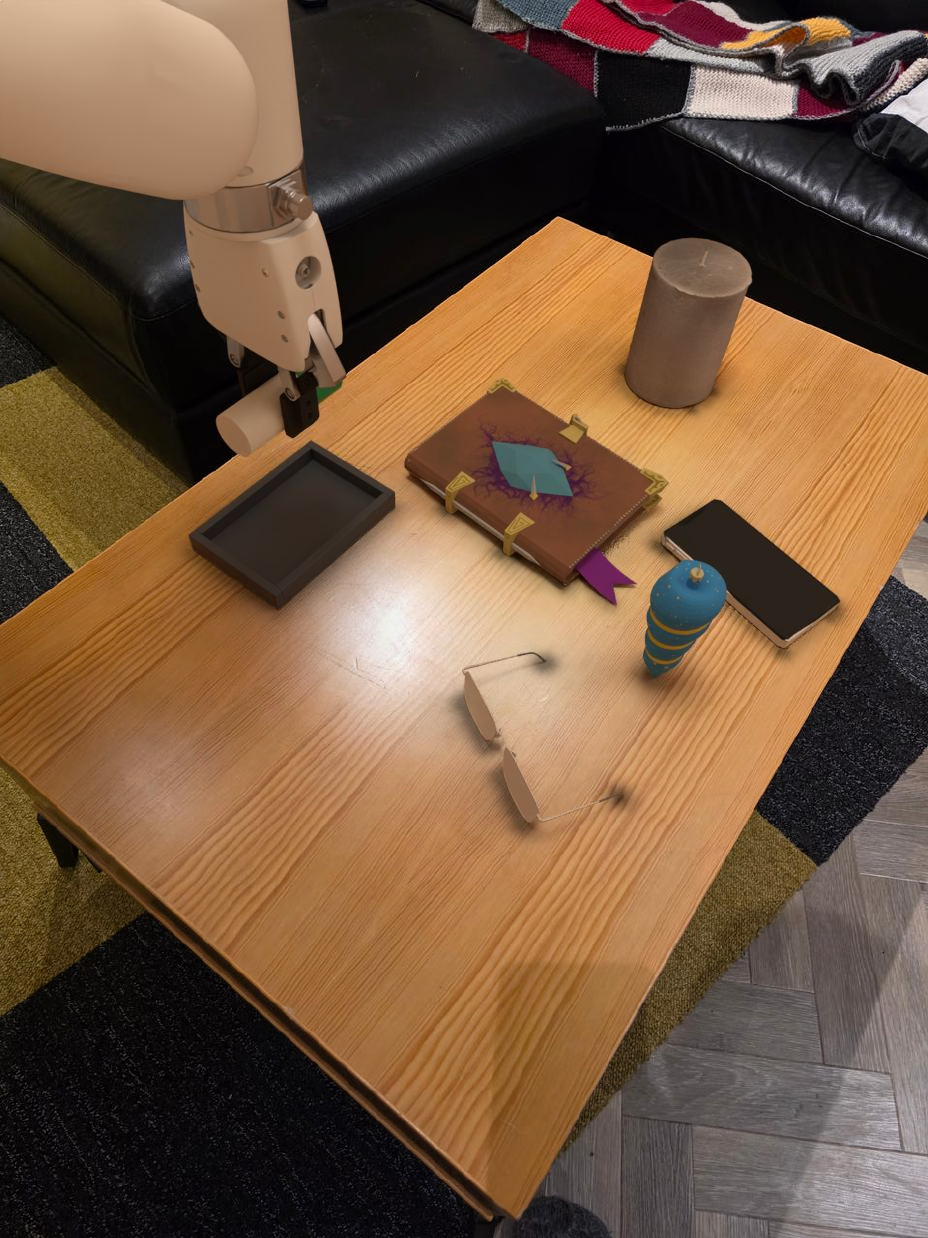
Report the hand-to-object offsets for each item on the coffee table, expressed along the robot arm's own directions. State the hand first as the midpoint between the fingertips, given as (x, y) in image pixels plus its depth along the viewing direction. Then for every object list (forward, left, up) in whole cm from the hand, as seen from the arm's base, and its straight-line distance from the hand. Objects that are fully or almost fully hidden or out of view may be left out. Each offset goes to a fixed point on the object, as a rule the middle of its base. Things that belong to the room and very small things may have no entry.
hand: (282, 412), depth 68 cm
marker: (0, 0, -1) cm, 1 cm away
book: (+18, -15, -15) cm, 28 cm away
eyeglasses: (-4, -29, -15) cm, 33 cm away
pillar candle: (+41, -15, -15) cm, 46 cm away
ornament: (+7, -33, -15) cm, 37 cm away
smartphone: (+22, -34, -15) cm, 43 cm away
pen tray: (0, +1, -15) cm, 15 cm away
